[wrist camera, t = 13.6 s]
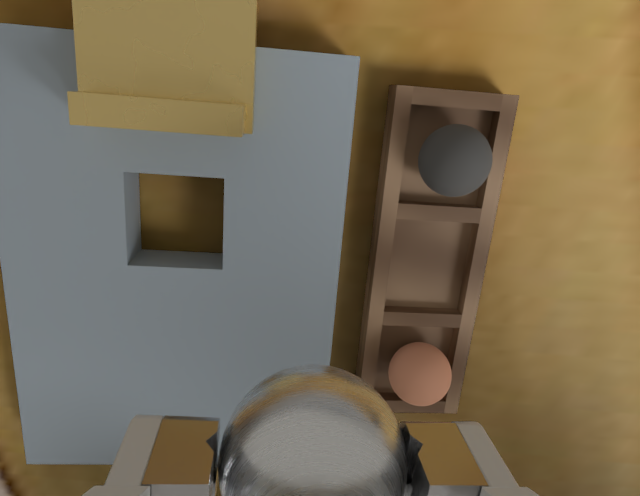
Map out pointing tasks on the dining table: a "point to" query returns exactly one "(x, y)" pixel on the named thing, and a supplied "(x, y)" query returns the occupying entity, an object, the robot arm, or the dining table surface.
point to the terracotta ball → (420, 374)
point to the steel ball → (312, 438)
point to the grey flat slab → (160, 265)
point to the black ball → (455, 160)
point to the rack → (429, 239)
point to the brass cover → (165, 65)
